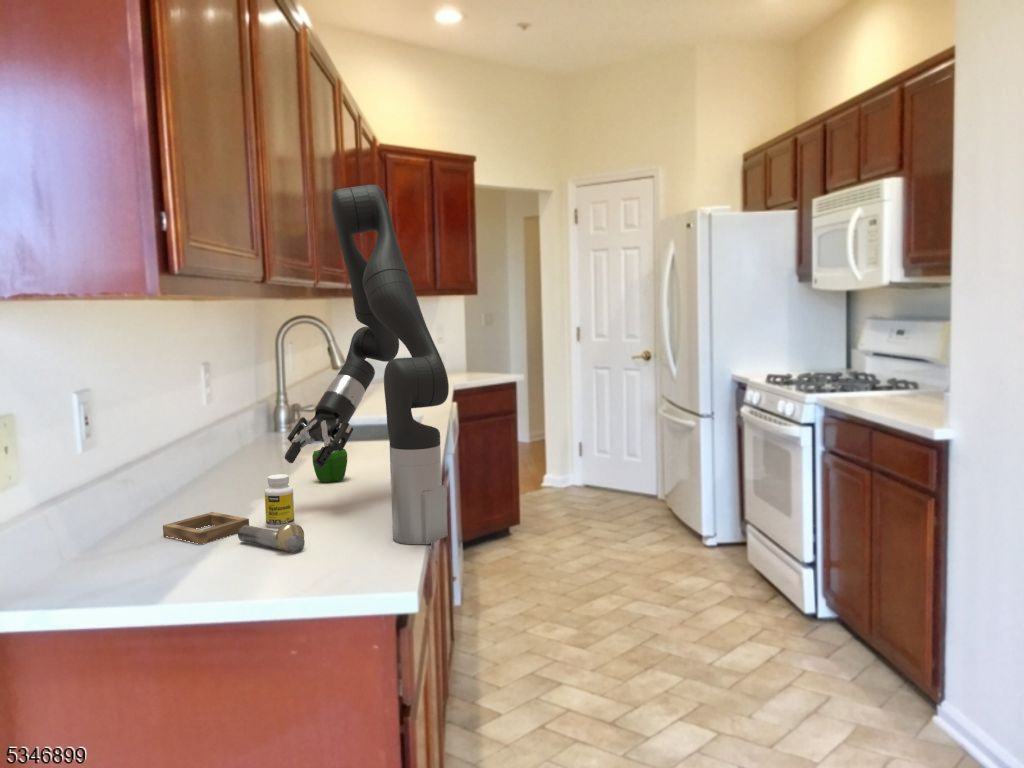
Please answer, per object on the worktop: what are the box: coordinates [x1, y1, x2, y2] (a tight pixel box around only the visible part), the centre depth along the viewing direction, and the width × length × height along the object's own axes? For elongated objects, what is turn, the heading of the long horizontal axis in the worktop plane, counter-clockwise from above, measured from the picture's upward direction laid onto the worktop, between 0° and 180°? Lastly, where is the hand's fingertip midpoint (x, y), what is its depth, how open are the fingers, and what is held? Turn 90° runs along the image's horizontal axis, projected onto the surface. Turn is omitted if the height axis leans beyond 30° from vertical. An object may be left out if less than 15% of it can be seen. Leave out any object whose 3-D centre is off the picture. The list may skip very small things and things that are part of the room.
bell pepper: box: [311, 448, 348, 483], centre depth 194 cm, size 8×8×10 cm
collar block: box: [162, 511, 250, 545], centre depth 150 cm, size 11×11×2 cm
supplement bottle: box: [264, 473, 295, 529], centre depth 155 cm, size 5×5×10 cm
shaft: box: [237, 523, 306, 554], centre depth 140 cm, size 14×5×5 cm, turn 58°
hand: (302, 462), depth 160 cm, fingers open, 8 cm apart
